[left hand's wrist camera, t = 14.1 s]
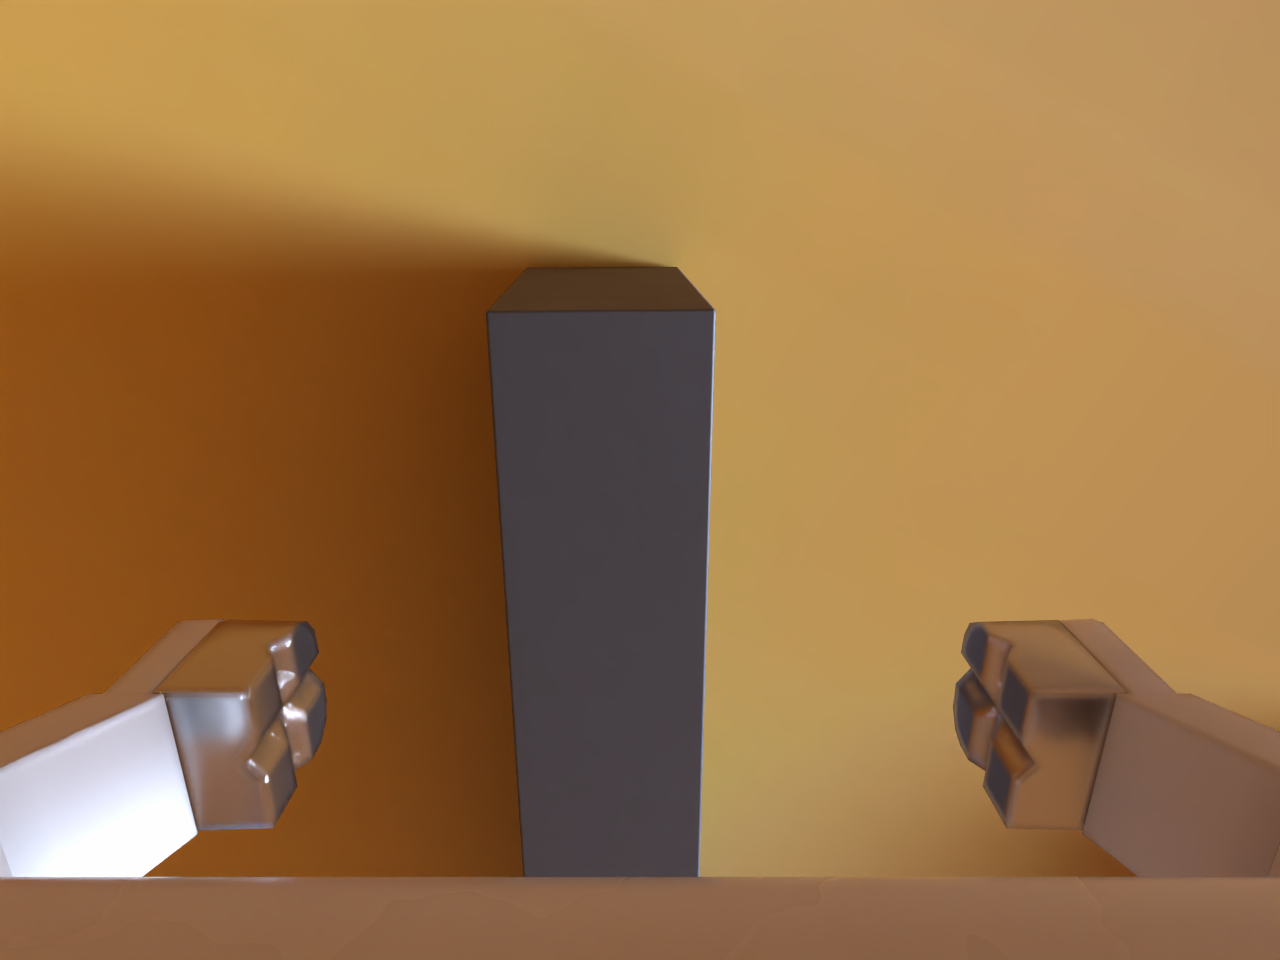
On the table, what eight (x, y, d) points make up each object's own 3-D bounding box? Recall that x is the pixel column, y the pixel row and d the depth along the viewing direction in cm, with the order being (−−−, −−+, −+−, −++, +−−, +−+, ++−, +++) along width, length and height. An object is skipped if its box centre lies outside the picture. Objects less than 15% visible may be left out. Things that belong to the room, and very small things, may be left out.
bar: (526, 267, 24) (485, 311, 16) (678, 266, 24) (716, 309, 16) (558, 933, 33) (543, 1182, 25) (669, 929, 34) (690, 1175, 25)
